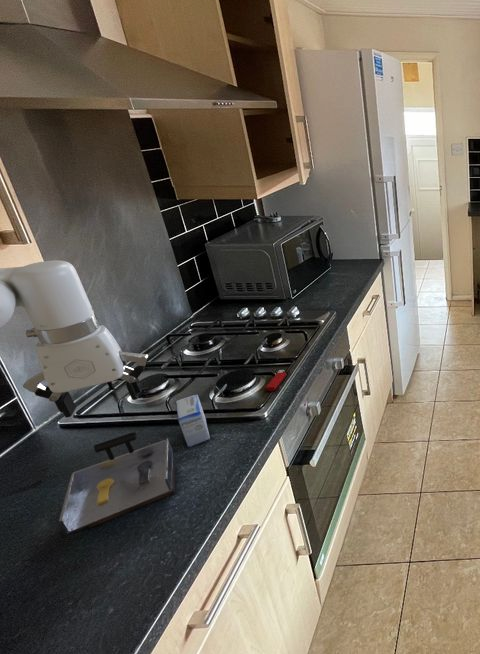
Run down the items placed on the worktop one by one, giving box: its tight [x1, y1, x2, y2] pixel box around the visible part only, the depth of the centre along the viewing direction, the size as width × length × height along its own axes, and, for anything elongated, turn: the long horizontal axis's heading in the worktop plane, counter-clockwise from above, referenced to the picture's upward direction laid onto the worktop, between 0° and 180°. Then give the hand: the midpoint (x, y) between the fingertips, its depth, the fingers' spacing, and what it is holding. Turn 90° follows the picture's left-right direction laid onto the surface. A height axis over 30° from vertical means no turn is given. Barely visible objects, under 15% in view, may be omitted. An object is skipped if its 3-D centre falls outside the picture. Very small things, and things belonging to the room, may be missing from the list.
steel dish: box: [58, 431, 174, 535], centre depth 80 cm, size 15×13×8 cm
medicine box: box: [175, 394, 211, 448], centre depth 99 cm, size 8×4×9 cm, turn 40°
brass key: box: [97, 478, 114, 505], centre depth 80 cm, size 2×6×1 cm, turn 37°
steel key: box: [137, 461, 153, 485], centre depth 84 cm, size 2×6×1 cm, turn 37°
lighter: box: [264, 369, 288, 392], centre depth 119 cm, size 3×1×8 cm
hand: (104, 404), depth 81 cm, fingers open, 9 cm apart
